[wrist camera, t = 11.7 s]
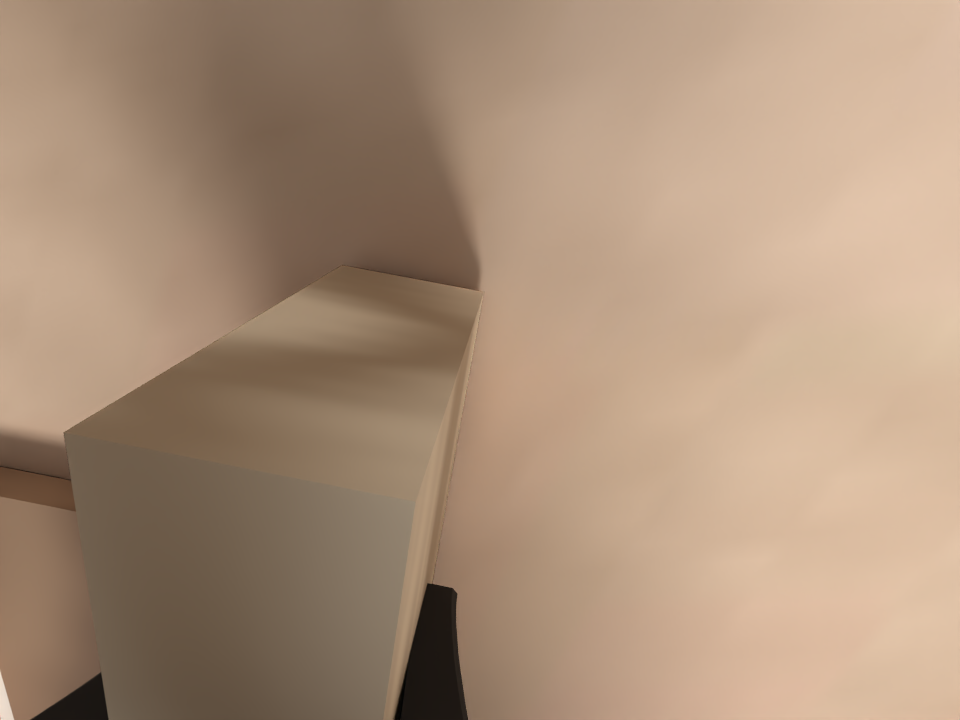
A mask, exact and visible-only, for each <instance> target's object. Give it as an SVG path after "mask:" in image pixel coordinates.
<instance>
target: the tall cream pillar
mask: <svg viewBox="0 0 960 720" xmlns="http://www.w3.org/2000/svg"><path fill="white" fill-rule="evenodd" d="M483 295H484V292H482V291H476V290H471V289H466V288H461V287H455V286H450V285H445V284H439V283H434V282H429V281H424V280H418V279H413V278H408V277H402V276H397V275H392V274H387V273H381V272H376V271H371V270H365V269H360V268H355V267H350V266H344V265H342V266H340V267H338V268H337V269H335V270H333V271H332V272H330V273H328V274H327V275H325V276H323V277H322V278H320V279H318V280H317V281H315V282H313V283H312V284H310V285H308V286H307V287H305V288H303V289H302V290H300V291H298V292H297V293H295V294H293V295H292V296H290V297H288V298H287V299H285V300H283V301H282V302H280V303H278V304H277V305H275V306H273V307H272V308H270V309H268V310H267V311H265V312H263V313H262V314H260V315H258V316H257V317H255V318H253V319H252V320H250V321H248V322H247V323H245V324H243V325H242V326H240V327H238V328H237V329H235V330H233V331H232V332H230V333H228V334H227V335H225V336H223V337H222V338H220V339H218V340H217V341H215V342H213V343H212V344H210V345H208V346H207V347H205V348H203V349H202V350H200V351H198V352H197V353H195V354H193V355H192V356H190V357H188V358H187V359H185V360H183V361H182V362H180V363H178V364H177V365H175V366H173V367H172V368H170V369H168V370H167V371H165V372H163V373H162V374H160V375H158V376H157V377H155V378H153V379H152V380H150V381H148V382H147V383H145V384H143V385H142V386H140V387H138V388H137V389H135V390H133V391H132V392H130V393H129V394H127V395H125V396H124V397H122V398H120V399H119V400H117V401H115V402H114V403H112V404H110V405H109V406H107V407H105V408H104V409H102V410H100V411H99V412H97V413H95V414H94V415H92V416H90V417H89V418H87V419H85V420H84V421H82V422H80V423H79V424H77V425H75V426H74V427H72V428H70V429H69V430H67V431H65V432H64V438H65V444H66V451H67V457H68V464H69V470H70V476H71V483H72V489H73V495H74V502H75V508H76V515H77V521H78V527H79V534H80V540H81V546H82V553H83V559H84V566H85V572H86V578H87V585H88V591H89V597H90V604H91V610H92V617H93V623H94V629H95V636H96V642H97V648H98V655H99V661H100V667H101V674H102V680H103V687H104V693H105V699H106V706H107V712H108V718H109V720H399V715H400V709H401V703H402V697H403V691H404V685H405V679H406V673H407V667H408V661H409V655H410V650H411V646H412V642H413V638H414V634H415V630H416V626H417V622H418V618H419V614H420V610H421V606H422V602H423V599H424V595H425V591H426V587H427V583H429V584H432V582H433V576H434V571H435V565H436V560H437V554H438V548H439V543H440V537H441V531H442V526H443V520H444V515H445V509H446V503H447V498H448V492H449V486H450V481H451V475H452V470H453V464H454V458H455V453H456V447H457V441H458V436H459V430H460V425H461V419H462V413H463V408H464V402H465V396H466V391H467V385H468V380H469V374H470V368H471V363H472V357H473V351H474V346H475V340H476V335H477V329H478V323H479V318H480V312H481V306H482V301H483Z"/></svg>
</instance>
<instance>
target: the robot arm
mask: <svg viewBox="0 0 960 720" xmlns="http://www.w3.org/2000/svg"><path fill="white" fill-rule="evenodd" d="M456 600H457V593H456V591H455V590H454V589H453V588H449V587H444V586H439V585H434V584H429V583H427V587H426V591H425V595H424V599H423V602H422V606H421V610H420V614H419V618H418V622H417V626H416V630H415V634H414V638H413V642H412V646H411V650H410V655H409V661H408V667H407V673H406V679H405V685H404V691H403V697H402V703H401V709H400V715H399V720H468V716H467V711H466V705H465V699H464V692H463V685H462V679H461V672H460V664H459V655H458V644H457V630H456ZM30 720H109V718H108V712H107V706H106V699H105V693H104V687H103V680H102V674H101V672H100V673H99V674H97V675H96V676H94V677H93V678H92V679H90V680H89V681H87V682H86V683H84V684H83V685H82V686H80V687H79V688H77V689H76V690H74V691H73V692H71V693H70V694H68V695H67V696H65V697H64V698H62V699H61V700H59V701H58V702H56V703H55V704H53V705H52V706H50V707H49V708H47V709H46V710H44V711H43V712H41V713H40V714H38V715H37V716H35V717H33V718H32V719H30Z"/></svg>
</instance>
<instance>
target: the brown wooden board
mask: <svg viewBox="0 0 960 720" xmlns="http://www.w3.org/2000/svg"><path fill="white" fill-rule="evenodd" d="M100 672H101V667H100V661H99V655H98V648H97V642H96V636H95V629H94V623H93V617H92V610H91V604H90V597H89V591H88V585H87V578H86V572H85V566H84V559H83V553H82V546H81V540H80V534H79V527H78V521H77V515H76V508H75V502H74V495H73V489H72V483H71V481H70V480H65V479H60V478H55V477H50V476H45V475H40V474H35V473H30V472H25V471H20V470H15V469H10V468H5V467H0V718H1V720H30V719H32V718H33V717H35V716H37V715H38V714H40V713H41V712H43V711H44V710H46V709H47V708H49V707H50V706H52V705H53V704H55V703H56V702H58V701H59V700H61V699H62V698H64V697H65V696H67V695H68V694H70V693H71V692H73V691H74V690H76V689H77V688H79V687H80V686H82V685H83V684H84V683H86V682H87V681H89V680H90V679H92V678H93V677H94V676H96V675H97V674H99V673H100Z"/></svg>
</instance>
